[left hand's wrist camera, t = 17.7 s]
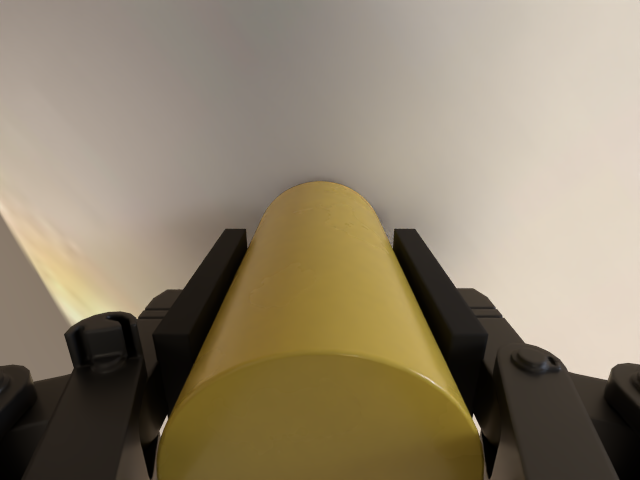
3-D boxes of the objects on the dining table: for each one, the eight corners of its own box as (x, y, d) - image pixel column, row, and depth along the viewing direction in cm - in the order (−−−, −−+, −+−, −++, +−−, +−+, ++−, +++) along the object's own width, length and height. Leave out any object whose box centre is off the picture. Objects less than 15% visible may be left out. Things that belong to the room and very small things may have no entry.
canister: (251, 184, 16) (117, 358, 5) (383, 177, 16) (507, 344, 5) (264, 299, 18) (186, 588, 7) (381, 293, 18) (469, 580, 7)
